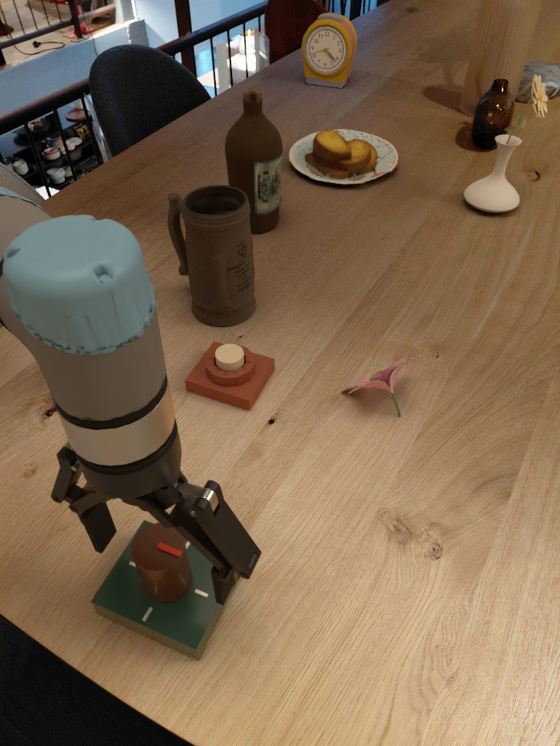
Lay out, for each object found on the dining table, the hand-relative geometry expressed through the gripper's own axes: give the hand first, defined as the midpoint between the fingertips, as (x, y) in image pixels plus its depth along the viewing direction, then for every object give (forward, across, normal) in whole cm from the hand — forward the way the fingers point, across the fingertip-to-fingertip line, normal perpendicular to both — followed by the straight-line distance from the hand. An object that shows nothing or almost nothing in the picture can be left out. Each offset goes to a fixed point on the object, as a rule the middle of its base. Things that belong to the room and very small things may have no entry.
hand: (164, 565), depth 56 cm
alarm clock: (+6, +37, -156) cm, 160 cm away
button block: (+6, +8, -31) cm, 33 cm away
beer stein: (+6, +19, -46) cm, 50 cm away
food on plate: (+6, +15, -105) cm, 106 cm away
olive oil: (+6, +23, -73) cm, 77 cm away
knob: (+3, 0, 0) cm, 3 cm away
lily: (+6, -13, -36) cm, 39 cm away
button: (+2, +8, -31) cm, 32 cm away
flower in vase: (+6, -20, -100) cm, 102 cm away
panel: (+6, 0, 0) cm, 6 cm away
